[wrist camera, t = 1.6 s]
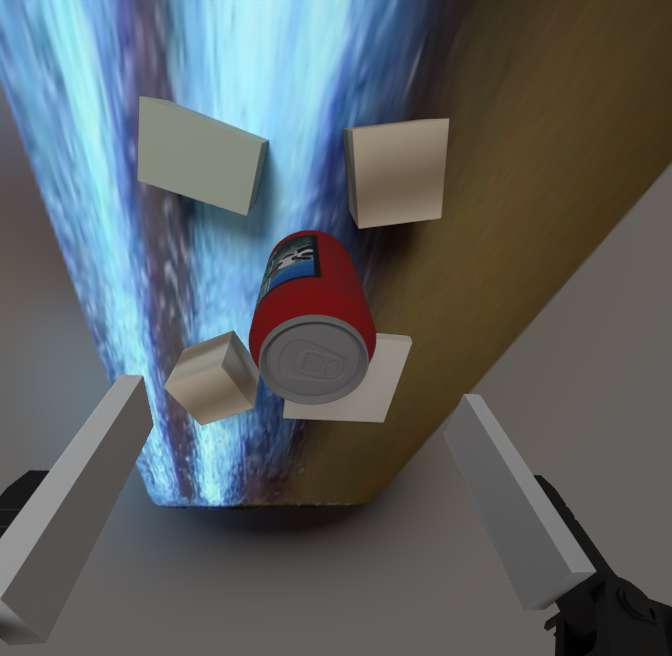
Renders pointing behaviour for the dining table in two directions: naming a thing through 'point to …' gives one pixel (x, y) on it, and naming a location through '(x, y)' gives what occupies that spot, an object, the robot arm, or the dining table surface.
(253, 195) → the sage block
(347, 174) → the beech block
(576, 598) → the robot arm
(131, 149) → the dining table surface
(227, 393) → the maple block
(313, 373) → the beverage can
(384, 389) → the plate
